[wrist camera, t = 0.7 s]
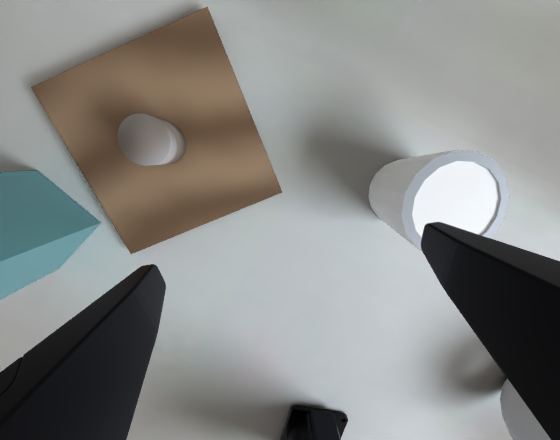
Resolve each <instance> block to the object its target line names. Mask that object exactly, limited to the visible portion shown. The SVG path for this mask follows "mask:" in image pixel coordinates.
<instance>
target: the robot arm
mask: <svg viewBox="0 0 560 440" xmlns="http://www.w3.org/2000/svg"><path fill="white" fill-rule="evenodd" d="M421 249H422V251H423V253H424V255H425V257H426V259H427V260H428V262H429V264H430V266H431V267H432V269H433V271H434V273H435V275H436V276H437V278H438V280H439V282H440V283H441V285H442V287H443V288H444V290H445V291H446V293H447V294H448V296H449V297H450V299H451V300H452V301H453V303H454V304H455V306H456V307H457V308H458V310H459V311H460V313H461V314H462V315H463V317H464V318H465V320H466V321H467V322H468V324H469V325H470V327H471V328H472V329H473V331H474V332H475V334H476V335H477V337H478V338H479V339H480V341H481V342H482V344H483V345H484V346H485V348H486V349H487V351H488V352H489V353H490V355H491V356H492V358H493V359H494V360H495V362H496V363H497V365H498V366H499V367H500V369H501V370H502V372H503V373H504V374H505V376H506V377H507V379H508V380H509V382H510V383H511V384H512V386H513V387H514V389H515V390H516V391H517V393H518V394H519V396H520V397H521V398H522V400H523V401H524V403H525V404H526V405H527V407H528V408H529V410H530V411H531V412H532V414H533V415H534V417H535V418H536V419H537V421H538V422H539V424H540V425H541V427H542V428H543V429H544V431H545V432H546V434H547V435H548V436H549V438H550V439H551V440H560V261H557V260H554V259H551V258H548V257H545V256H542V255H539V254H536V253H533V252H530V251H527V250H524V249H521V248H518V247H515V246H511V245H508V244H505V243H502V242H499V241H496V240H493V239H490V238H487V237H484V236H481V235H478V234H475V233H472V232H469V231H466V230H463V229H460V228H457V227H454V226H451V225H448V224H445V223H442V222H433V223H427V224H426V225H425V226H424V230H423V234H422V239H421ZM165 290H166V285H165V281H164V279H163V277H162V275H161V273H160V271H159V269H158V267H157V266H156V265H154V264H151V265H145V266H141V267H140V268H138V269H137V270H136V271H134V272H133V273H132V274H130V275H129V276H128V277H126V278H125V279H124V280H122V281H121V282H120V283H118V284H117V285H116V286H114V287H113V288H112V289H110V290H109V291H108V292H106V293H105V294H104V295H102V296H101V297H100V298H99V299H97V300H96V301H95V302H93V303H92V304H91V305H89V306H88V307H87V308H85V309H84V310H83V311H81V312H80V313H79V314H77V315H76V316H75V317H73V318H72V319H71V320H69V321H68V322H67V323H65V324H64V325H63V326H61V327H60V328H59V329H57V330H56V331H55V332H53V333H52V334H51V335H49V336H48V337H47V338H45V339H44V340H43V341H41V342H40V343H39V344H37V345H36V346H35V347H33V348H32V349H31V350H29V351H28V352H27V353H25V354H24V356H23V357H20V358H19V359H17V360H16V361H15V362H13V363H12V364H11V365H9V366H8V367H7V368H5V369H4V370H3V371H1V372H0V440H126V439H127V435H128V432H129V429H130V425H131V422H132V418H133V415H134V412H135V408H136V405H137V401H138V398H139V395H140V391H141V388H142V384H143V381H144V378H145V374H146V371H147V367H148V364H149V361H150V357H151V354H152V350H153V347H154V344H155V340H156V337H157V333H158V328H159V323H160V318H161V312H162V307H163V301H164V295H165ZM347 422H348V418H347V415H346V414H344V413H339V412H332V411H326V410H320V409H314V408H308V407H302V406H292V407H291V409H290V412H289V415H288V418H287V421H286V424H285V427H284V430H283V433H282V436H281V439H280V440H341V436H342V434H343V431H344V429H345V427H346V424H347Z"/></svg>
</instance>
